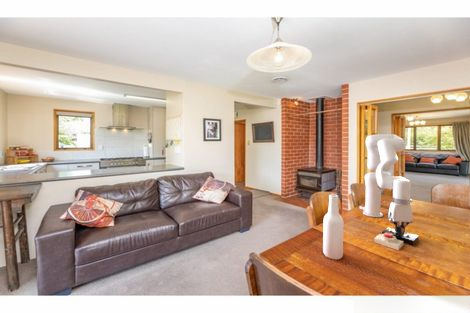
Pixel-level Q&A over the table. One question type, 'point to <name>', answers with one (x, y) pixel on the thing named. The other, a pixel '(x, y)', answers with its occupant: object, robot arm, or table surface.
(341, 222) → the alcohol
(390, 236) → the button
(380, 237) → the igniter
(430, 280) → the table surface
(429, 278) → the table surface
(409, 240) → the panel
